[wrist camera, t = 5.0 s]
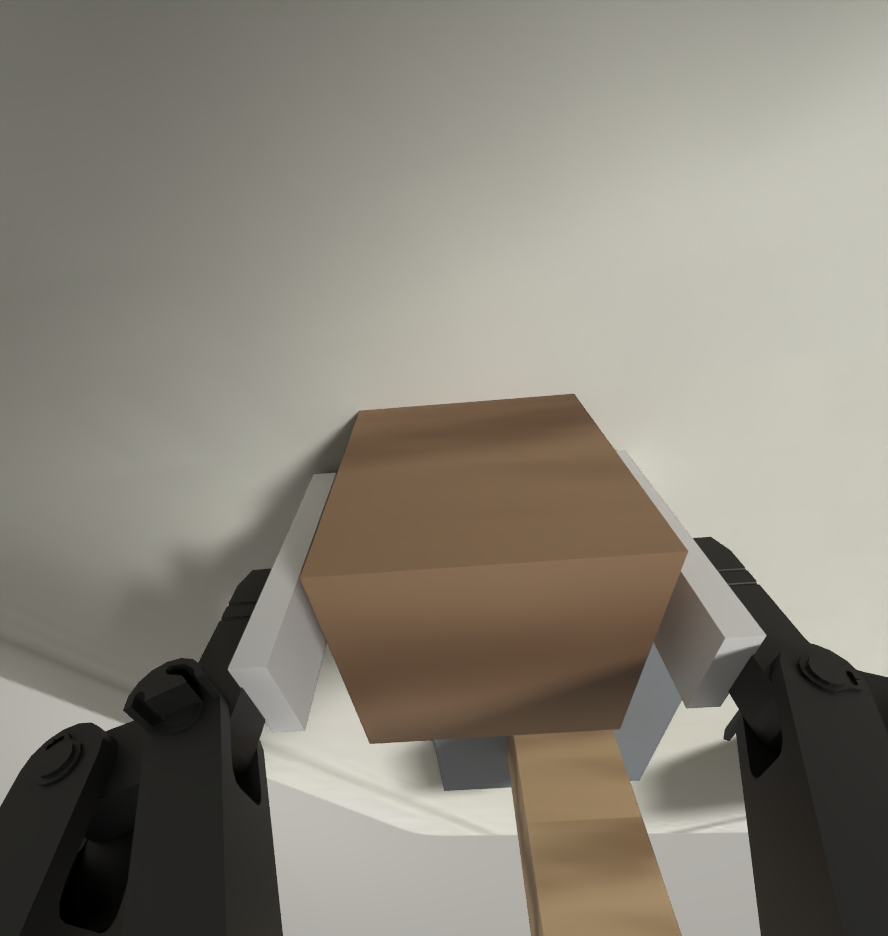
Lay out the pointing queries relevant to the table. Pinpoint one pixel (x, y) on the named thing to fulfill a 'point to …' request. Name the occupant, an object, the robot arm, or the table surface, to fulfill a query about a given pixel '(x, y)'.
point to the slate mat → (636, 739)
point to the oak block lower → (568, 778)
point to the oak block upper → (594, 880)
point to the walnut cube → (488, 571)
